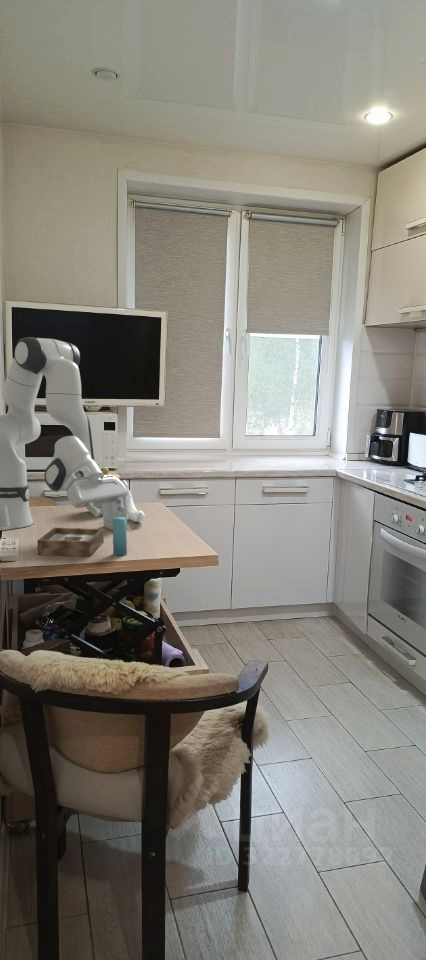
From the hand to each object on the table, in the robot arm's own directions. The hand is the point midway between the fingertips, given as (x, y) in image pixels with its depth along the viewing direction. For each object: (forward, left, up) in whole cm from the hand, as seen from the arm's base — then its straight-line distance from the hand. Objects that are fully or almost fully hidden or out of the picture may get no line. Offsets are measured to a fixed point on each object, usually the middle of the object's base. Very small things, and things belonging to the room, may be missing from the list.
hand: (110, 512), depth 195 cm
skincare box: (-6, +30, -12) cm, 33 cm away
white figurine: (-1, +40, -12) cm, 42 cm away
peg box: (-13, +2, -12) cm, 18 cm away
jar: (-15, +54, -12) cm, 57 cm away
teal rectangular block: (+3, -2, -12) cm, 13 cm away
